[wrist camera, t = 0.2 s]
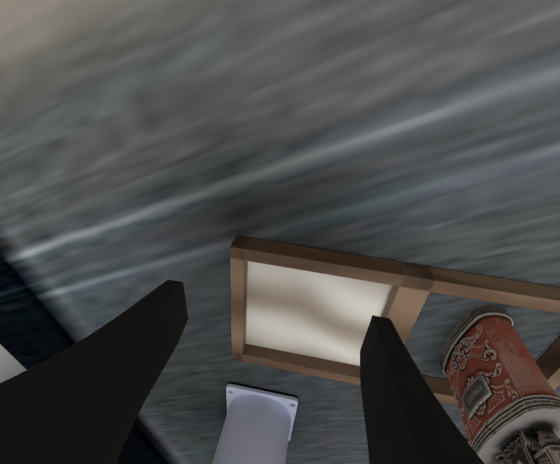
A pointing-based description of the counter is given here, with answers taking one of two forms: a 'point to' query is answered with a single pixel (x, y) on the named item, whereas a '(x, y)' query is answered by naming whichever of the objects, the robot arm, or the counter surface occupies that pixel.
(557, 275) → the counter surface
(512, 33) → the counter surface
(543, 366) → the tray
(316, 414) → the counter surface
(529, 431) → the lighter
